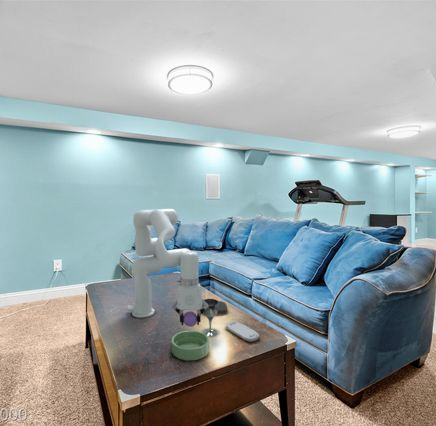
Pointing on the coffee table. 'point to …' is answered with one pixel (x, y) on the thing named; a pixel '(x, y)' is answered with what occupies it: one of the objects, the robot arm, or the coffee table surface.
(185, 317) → the ball
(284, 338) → the coffee table surface
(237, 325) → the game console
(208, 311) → the wine glass
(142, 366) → the coffee table surface
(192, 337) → the bowl
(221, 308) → the media streaming box
